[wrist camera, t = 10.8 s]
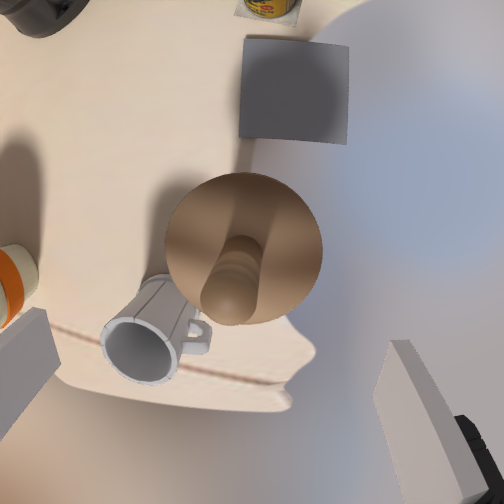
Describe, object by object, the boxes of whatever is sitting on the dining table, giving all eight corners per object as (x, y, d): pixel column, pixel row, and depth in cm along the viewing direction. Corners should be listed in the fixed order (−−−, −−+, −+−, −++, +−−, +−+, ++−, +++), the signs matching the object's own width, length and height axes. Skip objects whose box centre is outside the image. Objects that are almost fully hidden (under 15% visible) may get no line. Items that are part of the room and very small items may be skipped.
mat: (244, 40, 31) (243, 38, 30) (347, 48, 31) (348, 46, 30) (239, 137, 35) (238, 137, 34) (344, 144, 34) (346, 144, 34)
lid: (167, 172, 24) (113, 185, 15) (325, 175, 23) (355, 190, 15) (174, 312, 27) (138, 375, 19) (312, 320, 27) (326, 390, 18)
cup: (187, 254, 40) (155, 295, 28) (225, 312, 42) (209, 369, 30) (127, 289, 42) (85, 333, 30) (164, 341, 44) (135, 395, 32)
